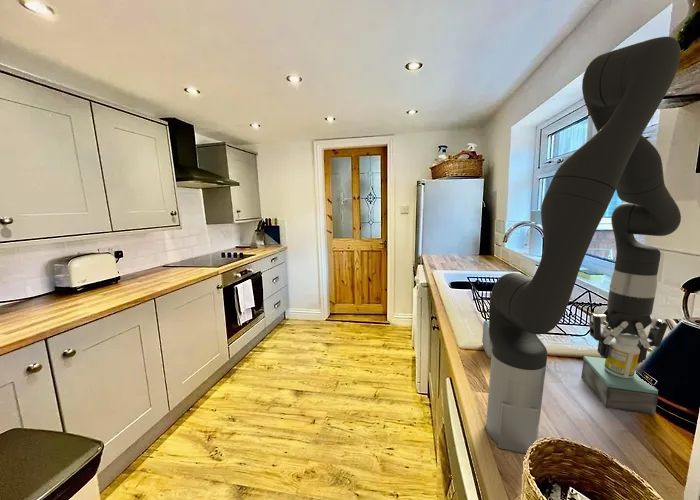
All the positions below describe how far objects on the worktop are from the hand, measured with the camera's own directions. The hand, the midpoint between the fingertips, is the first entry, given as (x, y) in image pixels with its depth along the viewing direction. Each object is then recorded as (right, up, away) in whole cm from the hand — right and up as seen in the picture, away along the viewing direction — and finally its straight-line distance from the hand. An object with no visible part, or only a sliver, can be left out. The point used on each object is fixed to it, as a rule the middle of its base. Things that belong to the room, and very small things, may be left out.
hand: (620, 358), depth 70 cm
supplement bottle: (0, -4, +1) cm, 4 cm away
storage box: (0, -10, +2) cm, 10 cm away
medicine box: (-20, -6, +22) cm, 30 cm away
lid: (0, -4, +1) cm, 4 cm away
